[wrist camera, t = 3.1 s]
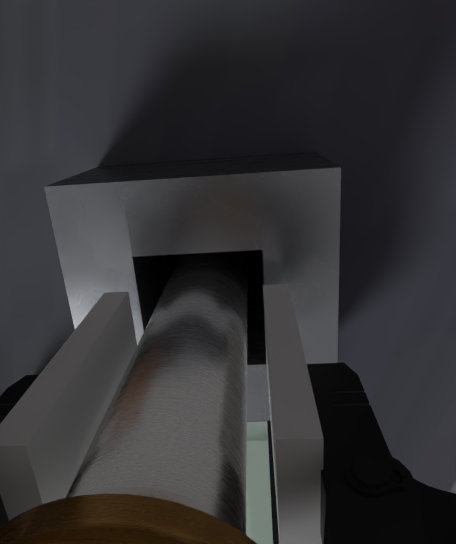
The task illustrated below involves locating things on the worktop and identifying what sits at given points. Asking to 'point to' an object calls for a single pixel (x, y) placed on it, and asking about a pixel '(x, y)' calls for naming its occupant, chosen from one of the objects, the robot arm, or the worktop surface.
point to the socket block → (207, 239)
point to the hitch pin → (167, 427)
